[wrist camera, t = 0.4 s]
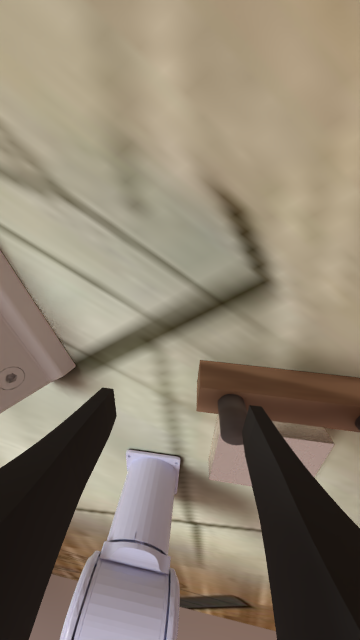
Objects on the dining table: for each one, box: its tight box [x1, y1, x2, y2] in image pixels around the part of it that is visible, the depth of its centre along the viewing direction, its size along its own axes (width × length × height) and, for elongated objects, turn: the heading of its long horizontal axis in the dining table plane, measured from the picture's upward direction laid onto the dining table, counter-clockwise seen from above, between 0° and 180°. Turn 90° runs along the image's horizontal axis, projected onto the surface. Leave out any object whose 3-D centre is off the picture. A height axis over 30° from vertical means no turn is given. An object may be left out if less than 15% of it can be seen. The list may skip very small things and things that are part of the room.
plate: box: [208, 414, 334, 486], centre depth 24 cm, size 10×12×3 cm
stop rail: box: [197, 360, 360, 445], centre depth 18 cm, size 3×18×7 cm, turn 86°
